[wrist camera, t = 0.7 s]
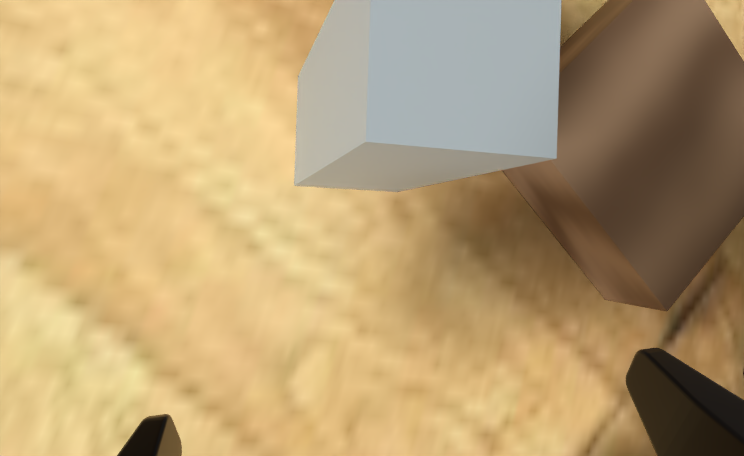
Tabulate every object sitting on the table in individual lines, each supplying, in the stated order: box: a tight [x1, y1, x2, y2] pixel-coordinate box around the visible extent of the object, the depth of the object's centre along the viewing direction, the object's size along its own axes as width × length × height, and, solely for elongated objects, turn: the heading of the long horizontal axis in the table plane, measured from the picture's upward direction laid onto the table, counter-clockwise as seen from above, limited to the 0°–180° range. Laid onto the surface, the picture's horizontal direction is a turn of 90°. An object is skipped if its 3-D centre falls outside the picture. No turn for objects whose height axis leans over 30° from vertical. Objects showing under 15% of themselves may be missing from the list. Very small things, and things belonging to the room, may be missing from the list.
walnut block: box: [502, 0, 744, 311], centre depth 26 cm, size 12×12×4 cm
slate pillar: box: [294, 0, 561, 192], centre depth 18 cm, size 5×5×12 cm
